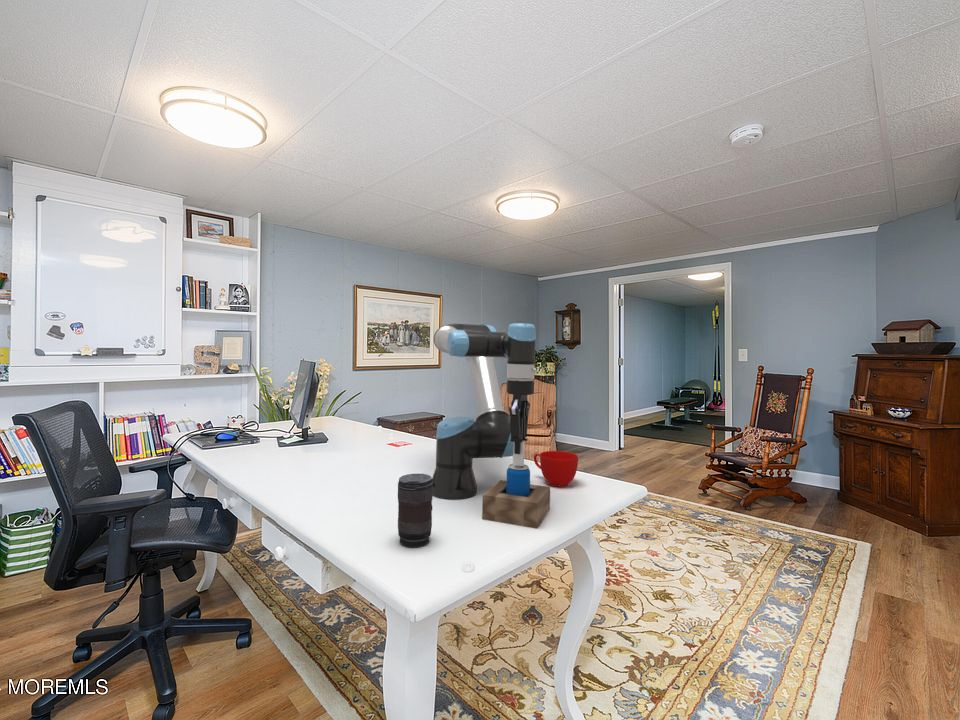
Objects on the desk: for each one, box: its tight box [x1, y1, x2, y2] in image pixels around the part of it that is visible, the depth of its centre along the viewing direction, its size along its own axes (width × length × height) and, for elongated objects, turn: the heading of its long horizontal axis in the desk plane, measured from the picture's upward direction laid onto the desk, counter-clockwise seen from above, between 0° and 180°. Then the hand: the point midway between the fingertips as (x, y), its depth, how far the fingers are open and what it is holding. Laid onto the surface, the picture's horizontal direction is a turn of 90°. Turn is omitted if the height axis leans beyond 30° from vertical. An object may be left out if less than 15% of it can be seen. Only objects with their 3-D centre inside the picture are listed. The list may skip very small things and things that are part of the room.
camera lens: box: [397, 473, 434, 548], centre depth 102 cm, size 8×8×15 cm
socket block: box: [481, 480, 551, 529], centre depth 121 cm, size 15×15×6 cm
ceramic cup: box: [533, 450, 579, 488], centre depth 152 cm, size 13×17×10 cm
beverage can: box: [505, 463, 531, 497], centre depth 121 cm, size 6×6×12 cm
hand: (518, 464), depth 121 cm, fingers closed
